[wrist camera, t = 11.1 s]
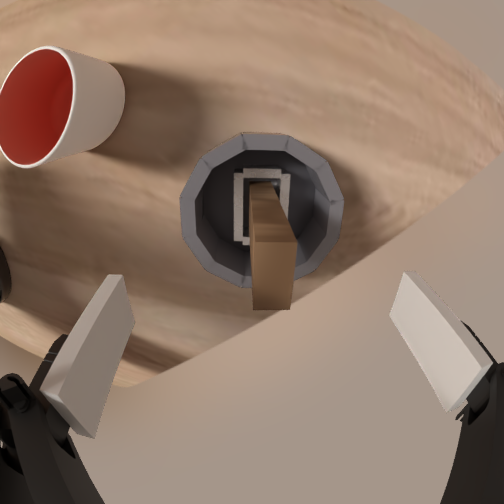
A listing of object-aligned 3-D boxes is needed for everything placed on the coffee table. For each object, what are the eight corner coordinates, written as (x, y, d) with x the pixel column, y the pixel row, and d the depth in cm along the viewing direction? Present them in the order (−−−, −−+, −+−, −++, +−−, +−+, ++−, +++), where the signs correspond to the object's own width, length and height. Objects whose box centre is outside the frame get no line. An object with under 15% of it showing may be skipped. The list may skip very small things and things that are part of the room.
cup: (144, 116, 23) (95, 117, 14) (74, 167, 25) (17, 191, 16) (110, 44, 19) (57, 21, 10) (44, 98, 21) (-15, 102, 12)
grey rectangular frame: (234, 234, 28) (233, 244, 26) (234, 164, 25) (233, 168, 22) (282, 234, 28) (285, 245, 26) (286, 165, 25) (290, 169, 23)
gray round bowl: (196, 256, 30) (187, 287, 25) (191, 132, 24) (177, 135, 19) (316, 257, 30) (330, 286, 25) (328, 136, 25) (350, 141, 19)
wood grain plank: (248, 220, 27) (253, 310, 15) (249, 180, 26) (255, 242, 13) (268, 220, 27) (290, 309, 15) (270, 181, 26) (297, 242, 13)
